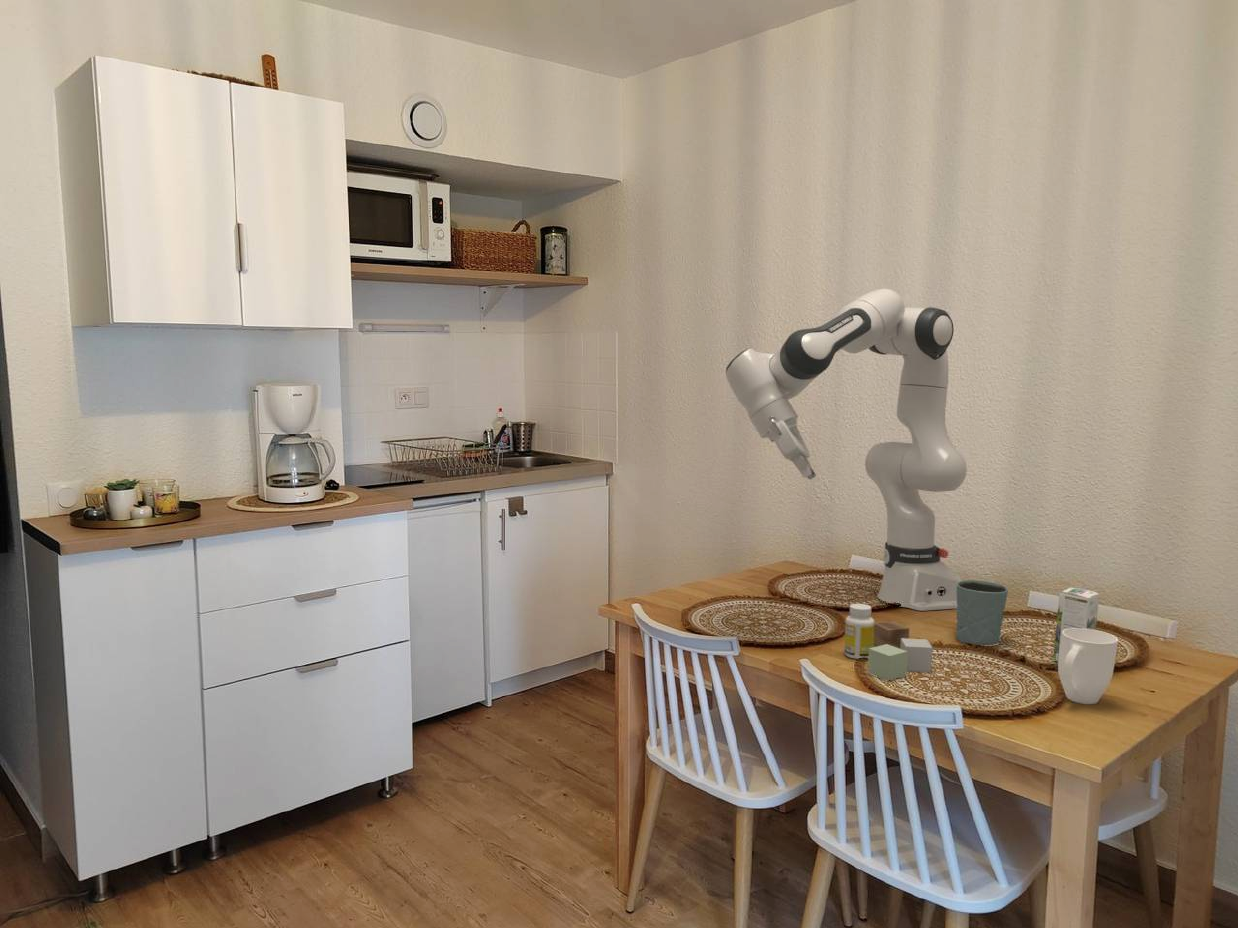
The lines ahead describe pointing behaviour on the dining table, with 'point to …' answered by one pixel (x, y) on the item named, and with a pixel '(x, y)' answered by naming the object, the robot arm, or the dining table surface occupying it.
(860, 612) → the supplement bottle
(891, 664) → the sage cube
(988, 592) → the teal plant pot
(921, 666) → the grey painted cube
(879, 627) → the walnut cube
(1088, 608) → the syrup box
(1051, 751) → the dining table surface
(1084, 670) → the mug
